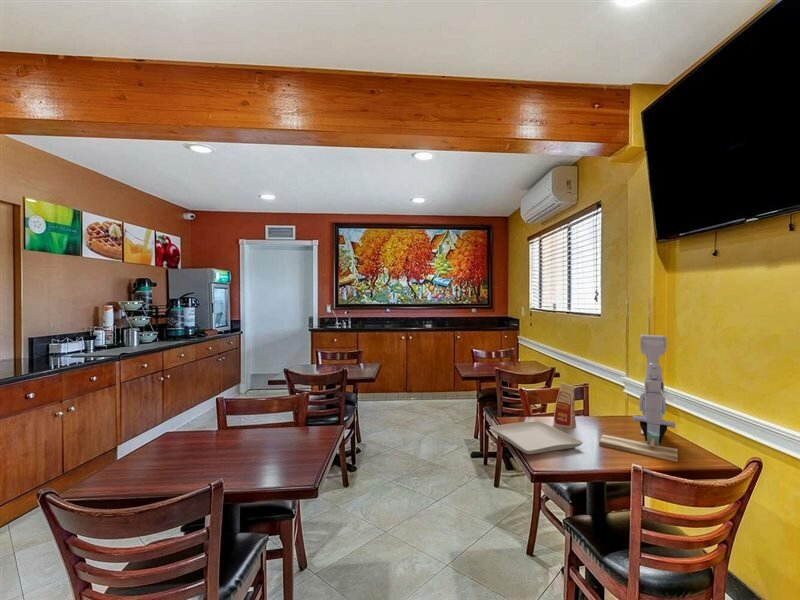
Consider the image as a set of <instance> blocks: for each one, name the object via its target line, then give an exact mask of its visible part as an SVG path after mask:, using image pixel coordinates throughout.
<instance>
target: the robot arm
mask: <svg viewBox="0 0 800 600" xmlns="http://www.w3.org/2000/svg"><path fill="white" fill-rule="evenodd" d="M667 343H668V341H667V336H666V335H655V334H654V335H653V334H641V335H640V343H639V344H640V352H641V354H644V355H645V358H646V360H647V361H646V364H647V365H646V366H645V380H644V392H641V393H640V395H639V403H638V404H639V410H638V411H640V412H641V413H642V416H639V415H632V422H636V423H637V422H639V426H640V428H641V430H640V434H641V435H643V436H644V442H647V432H648V431H652V432H657V433H659V445H661V444H662V440H663V438H664V435H665V433H666V432H667V430H668V428H671V429H676V422H675V421H670V420H666V419H663V416H665V415H666V414H667V412H666V411H667V402H666V397H665V396H664V393H665V383H664V378H663V367H662V366H661V365H659V362H660V361H659V360H660V357H661V356H663V355H665V353H666V351H667V345H668V344H667Z"/></svg>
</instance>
